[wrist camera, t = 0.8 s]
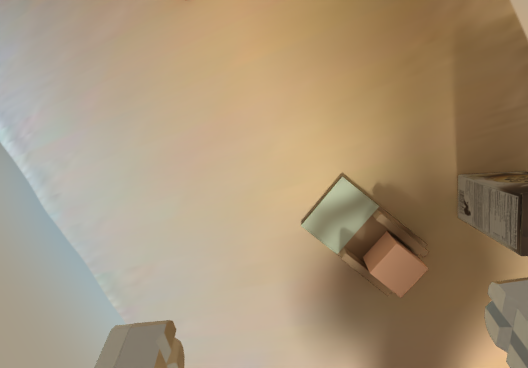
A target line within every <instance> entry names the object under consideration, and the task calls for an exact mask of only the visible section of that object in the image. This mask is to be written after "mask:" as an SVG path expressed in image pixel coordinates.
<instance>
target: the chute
mask: <svg viewBox="0 0 528 368" xmlns="http://www.w3.org/2000/svg"><path fill="white" fill-rule="evenodd" d="M301 226H302V227H303V228H305V229H306V230H307V231H308V232H310V233H311V234H312V235H313V236H315V237H316V238H317V239H318V240H320V241H321V242H322V243H323V244H325V245H326V246H327V247H328V248H330V249H331V250H332V251H333V252H335V253H336V254H337V255H338V256H340V257H341V259H342V260H343V261H345V262H346V263H347V264H348V265H350V266H351V267H352V268H353V269H355V270H356V271H357V272H358V273H360V274H361V275H362V276H363V277H365V278H366V279H367V280H368V281H370V282H371V283H372V284H373V285H375V286H376V287H377V288H378V289H380V290H381V291H382V292H383V293H385V294H386V295H387V296H388V295H389V294H390V293H391V292H392V290H390V289H389V288H388V287H387V286H385V285H384V284H383V283H382V282H380V281H379V280H378V279H377V278H375V277H374V276H373V275H372V274H370V272H369V270H368V268H367V266H366V263H365V261H364V259H363V257H364V256H365V255H366V253H367V252H368V251H369V250H370V249H371V248H372V247H373V246H374V245H375V243H376V242H377V241H378V240H379V239H380V238H381V237H382V236H383V235H384V233H385V232H386V231H387V232H389V233H390V234H391V235H392V236H394V237H395V238H396V239H397V240H399V241H400V242H401V243H402V244H404V245H405V246H406V247H407V248H409V249H410V250H411V251H412V252H414V253H415V254H416V255H417V256H418V255H419V254H420V255H421V256H422V257H425V256H426V255H427V254H428V253H429V251H428V250H427V249H426V248H425V247H426V246H427V244H426V243H425V242H424V241H422V240H421V239H420V238H419V237H417V236H416V235H415V234H414V233H412V232H411V231H410V230H409V229H407V228H406V227H405V226H404V225H402V224H401V223H400V222H399V221H397V220H396V219H395V218H394V217H392V216H391V215H390V214H389V213H387V212H386V211H385V210H384V209H382V208H381V207H380V206H379V205H377V204H376V203H375V202H374V201H372V200H371V199H370V198H369V197H367V196H366V195H365V194H364V193H362V192H361V191H360V190H359V189H357V188H356V187H355V186H354V185H352V184H351V183H350V182H349V181H347V180H346V179H345V178H344V177H341V178H340V179H339V181H338V182H337V183H336V184H335V185H334V187H333V188H332V189H331V190H330V191H329V193H328V194H327V195H326V196H325V197H324V198H323V200H322V201H321V202H320V203H319V204H318V206H317V207H316V208H315V209H314V210H313V212H312V213H311V214H310V215H309V216H308V217H307V219H306V220H305V221H304V222H303V223H302V225H301Z"/></svg>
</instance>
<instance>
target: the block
mask: <svg viewBox="0 0 528 368" xmlns="http://www.w3.org/2000/svg"><path fill="white" fill-rule="evenodd" d="M363 259H364V261H365V263H366V266H367V268H368V270H369V272H370V274H372V275H373V276H374V277H375V278H377V279H378V280H379V281H380V282H382V283H383V284H384V285H385V286H387V287H388V288H389V289H390V290H392V291H393V292H394V293H395V294H397V295H398V296H399V297H400V298H401V297H402V296H403V295H404V294H405V293H406V292H407V291H408V290H409V289H410V288H411V287H412V286H413V285H414V284H415V283H416V282H417V281H418V279H419V278H420V277H421V276H422V275H423V274H424V273H425V272H426V271H427V270H428V268H427V267H426V265H425V264H424V263H423V262H422V261H421V260H420V259H419V257H418V256H417V255H416V254H415V253H414V252H412V251H411V250H410V249H409V248H407V247H406V246H405V245H404V244H402V243H401V242H400V241H399V240H397V239H396V238H395V237H394V236H392V235H391V234H390V233H389V232H387V231H386V232H385V233H384V235H383V236H382V237H381V238H380V239H379V240H378V241H377V242H376V243H375V245H374V246H373V247H372V248H371V249H370V250H369V251H368V252H367V253H366V255H365V256H364V257H363Z"/></svg>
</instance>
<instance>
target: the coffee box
mask: <svg viewBox="0 0 528 368" xmlns="http://www.w3.org/2000/svg"><path fill="white" fill-rule="evenodd" d="M458 218H459V219H461V220H463V221H464V222H466V223H468V224H469V225H471V226H473V227H474V228H476V229H478V230H479V231H481V232H482V233H484V234H486V235H487V236H489V237H491V238H492V239H494V240H496V241H497V242H499V243H501V244H502V245H504V246H506V247H507V248H509V249H511V250H512V251H514V252H516V253H517V254H519V255H520V256H528V171H522V172H502V173H481V174H462V175H458Z"/></svg>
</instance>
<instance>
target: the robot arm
mask: <svg viewBox="0 0 528 368" xmlns="http://www.w3.org/2000/svg"><path fill="white" fill-rule="evenodd" d="M488 295H489V297H490V298H491V299H492V301H491V302H490V303H489V304H488V305H487V306H486V307H485V322H486V327H487V330H488V332H489V334H490V337H491V338H492V340H493V342H494V343H495V345H496V346H498V347H499V348H501V349H502V350H504V351H506V352H507V353H508V354H507V360H506V362H507V364H508V365H509V367H510V368H528V278H520V279H512V280H504V281H496V282H492V283H491V284H490V285H489V288H488ZM175 333H176V328H175V325H174V323H173V321H170V320H166V321H155V322H144V323H134V324H126V325H116V326H115V327H114V328H113V329H112V330H111V331H110V333H109V335H108V338H107V340H106V342H105V345H104V347H103V349H102V351H101V354H100V356H99V358H98V360H97V363H96V365H95V367H94V368H184V350H183V346H182V344H181V341H179V340H178V339H176V338H175Z"/></svg>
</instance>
